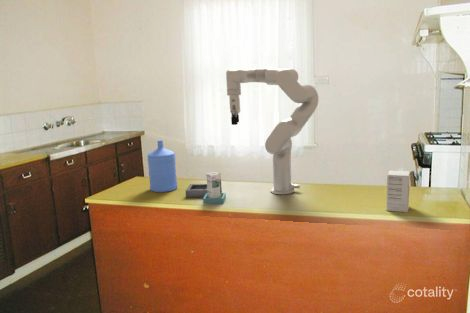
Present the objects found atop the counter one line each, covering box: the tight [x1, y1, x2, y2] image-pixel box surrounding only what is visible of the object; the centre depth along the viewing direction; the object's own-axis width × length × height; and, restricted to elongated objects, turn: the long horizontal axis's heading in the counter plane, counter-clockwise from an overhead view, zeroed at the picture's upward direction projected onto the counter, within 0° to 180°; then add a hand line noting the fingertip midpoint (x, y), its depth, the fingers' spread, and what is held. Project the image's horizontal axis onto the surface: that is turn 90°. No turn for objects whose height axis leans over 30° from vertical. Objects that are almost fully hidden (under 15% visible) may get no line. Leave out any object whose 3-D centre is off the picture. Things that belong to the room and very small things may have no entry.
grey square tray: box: [185, 183, 208, 199], centre depth 235 cm, size 13×13×4 cm
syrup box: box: [205, 171, 223, 198], centre depth 222 cm, size 6×6×14 cm
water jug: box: [147, 140, 178, 193], centre depth 247 cm, size 16×16×28 cm
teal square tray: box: [202, 192, 227, 205], centre depth 223 cm, size 10×10×2 cm
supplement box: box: [386, 170, 411, 213], centre depth 196 cm, size 10×9×17 cm
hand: (235, 123), depth 240 cm, fingers open, 9 cm apart
